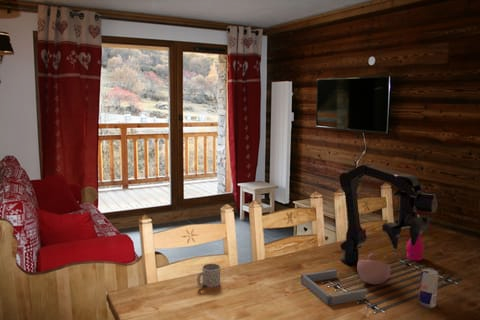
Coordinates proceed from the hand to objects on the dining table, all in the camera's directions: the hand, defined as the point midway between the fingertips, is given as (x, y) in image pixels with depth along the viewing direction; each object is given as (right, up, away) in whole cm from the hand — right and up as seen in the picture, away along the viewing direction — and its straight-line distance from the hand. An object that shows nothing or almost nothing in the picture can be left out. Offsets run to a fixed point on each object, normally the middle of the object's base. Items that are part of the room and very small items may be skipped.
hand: (404, 247), depth 159 cm
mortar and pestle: (-13, -14, -2) cm, 19 cm away
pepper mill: (+14, -10, +24) cm, 29 cm away
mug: (-76, -13, -5) cm, 77 cm away
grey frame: (-29, -14, -8) cm, 34 cm away
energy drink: (+1, -16, -18) cm, 24 cm away
